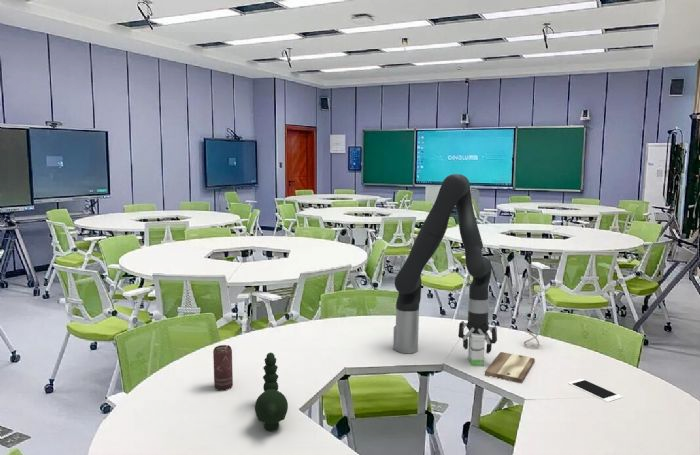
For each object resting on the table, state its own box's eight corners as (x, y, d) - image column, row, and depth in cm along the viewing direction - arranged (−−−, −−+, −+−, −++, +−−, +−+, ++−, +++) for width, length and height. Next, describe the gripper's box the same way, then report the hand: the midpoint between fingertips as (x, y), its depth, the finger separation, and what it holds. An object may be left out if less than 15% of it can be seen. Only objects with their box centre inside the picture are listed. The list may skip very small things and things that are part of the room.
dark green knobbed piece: (256, 407, 170) (254, 442, 145) (255, 348, 169) (253, 374, 144) (285, 405, 171) (289, 439, 147) (285, 347, 170) (288, 372, 146)
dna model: (543, 347, 219) (547, 276, 215) (533, 350, 216) (537, 278, 212) (529, 342, 225) (533, 273, 221) (519, 345, 221) (523, 275, 217)
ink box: (484, 366, 199) (485, 336, 198) (470, 366, 200) (472, 336, 198) (480, 357, 208) (481, 328, 206) (467, 357, 208) (468, 328, 207)
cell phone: (607, 403, 172) (607, 401, 172) (566, 384, 186) (567, 382, 186) (623, 398, 175) (623, 396, 175) (582, 379, 189) (582, 378, 189)
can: (236, 384, 182) (235, 345, 180) (226, 392, 176) (225, 351, 174) (221, 381, 184) (220, 343, 182) (210, 389, 178) (209, 349, 176)
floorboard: (484, 375, 192) (484, 370, 191) (500, 355, 210) (500, 350, 210) (521, 383, 185) (521, 378, 185) (534, 362, 204) (534, 357, 204)
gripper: (456, 309, 201) (455, 350, 203) (494, 315, 194) (493, 357, 196) (463, 304, 208) (462, 344, 210) (499, 309, 201) (498, 351, 203)
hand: (477, 350), depth 203 cm, fingers open, 8 cm apart
